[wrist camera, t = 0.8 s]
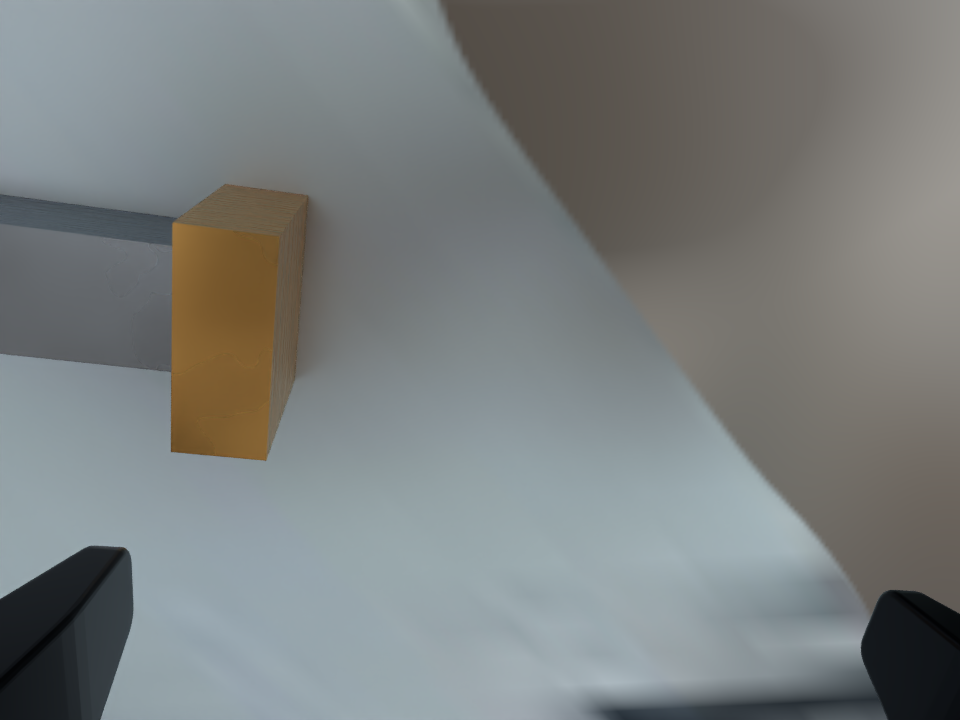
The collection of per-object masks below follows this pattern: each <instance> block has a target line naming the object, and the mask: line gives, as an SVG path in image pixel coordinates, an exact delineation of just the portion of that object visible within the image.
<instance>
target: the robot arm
mask: <svg viewBox="0 0 960 720" xmlns="http://www.w3.org/2000/svg"><path fill="white" fill-rule="evenodd" d="M132 618H133V585H132V562H131V556H130V553H129V551H128V550H127V549H125V548H123V547H109V546H89V547H86V548H84V549H82V550H80V551H79V552H77V553H76V554H74V555H72V556H71V557H69V558H67V559H66V560H64V561H62V562H61V563H59V564H57V565H56V566H54V567H52V568H51V569H49V570H47V571H46V572H44V573H43V574H41V575H39V576H38V577H36V578H34V579H33V580H31V581H29V582H28V583H26V584H24V585H23V586H21V587H19V588H18V589H16V590H14V591H13V592H11V593H9V594H8V595H6V596H5V597H3V598H1V599H0V720H100V719H101V716H102V713H103V710H104V707H105V704H106V701H107V698H108V695H109V692H110V689H111V686H112V683H113V680H114V677H115V674H116V671H117V668H118V665H119V662H120V659H121V656H122V653H123V650H124V647H125V644H126V641H127V638H128V635H129V632H130V628H131V624H132ZM861 655H862V659H863V662H864V665H865V667H866V670H867V672H868V674H869V677H870V679H871V681H872V684H873V686H874V689H875V691H876V693H877V696H878V698H879V700H880V703H881V705H882V707H883V710H884V712H885V714H886V717H887V719H888V720H960V614H959V613H957V612H956V611H954V610H952V609H950V608H948V607H947V606H945V605H943V604H941V603H939V602H937V601H935V600H934V599H932V598H930V597H928V596H926V595H925V594H923V593H920V592H916V591H903V590H888V591H886V592H884V593H883V594H882V595H881V596H880V597H879V599H878V601H877V603H876V606H875V608H874V611H873V613H872V616H871V618H870V621H869V623H868V626H867V628H866V631H865V633H864V636H863V638H862V642H861Z"/></svg>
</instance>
